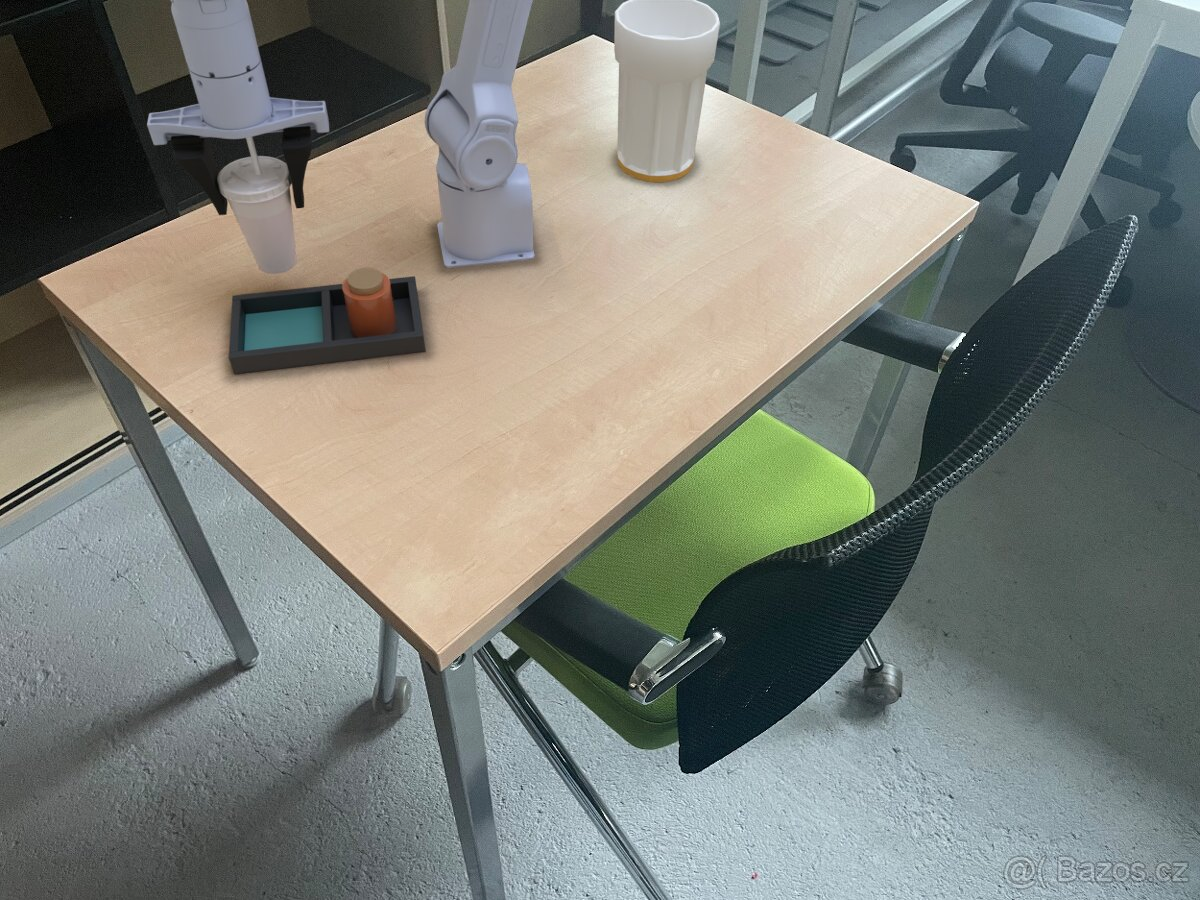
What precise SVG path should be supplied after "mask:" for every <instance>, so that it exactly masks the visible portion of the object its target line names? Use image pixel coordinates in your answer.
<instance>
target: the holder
mask: <svg viewBox="0 0 1200 900" xmlns="http://www.w3.org/2000/svg"><path fill="white" fill-rule="evenodd" d="M389 280H390V283H391V290H392V296H393V302H394V308H395V315H396V321H397V327H396V330H395V331H394V332H393V333H392V334H386V335H377V336H369V337H360V338H357V337H356V336H354V335H353V333H352V332H351V328H350V323H349V318H348V313H347V309H346V304H345V299H344V294H343V289H342V285H343V283H335V284H328V285H319V286H318V285H317V286H309V287H299V288H298V287H297V288H289V289H288V288H287V289H281V290H279V289H278V290H270V291H260V292H251V293H242V294H241V293H240V294H232V297H231V316H230V330H229V348H228V349H229V350H228V360H229V363H230V367H231V369H232V373H233V375H244V374H251V373H252V374H253V373H261V372H269V371H277V370H286V369H287V370H288V369H294V368H295V369H296V368H302V367H311V366H319V365H320V366H321V365H328V364H336V363H338V364H339V363H345V362H355V361H362V360H370V359H378V358H388V357H396V356H404V355H411V354H420V353H426V352H427V350H426V343H425V336H424V329H423V323H422V322H423V321H422V315H421V309H420V308H421V307H420V301H419V295H418V288H417V281H416V276H414V275H413V276H403V277H394V278H389Z"/></svg>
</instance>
